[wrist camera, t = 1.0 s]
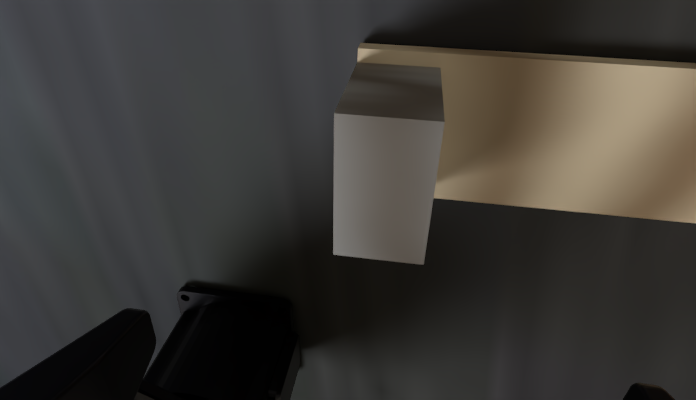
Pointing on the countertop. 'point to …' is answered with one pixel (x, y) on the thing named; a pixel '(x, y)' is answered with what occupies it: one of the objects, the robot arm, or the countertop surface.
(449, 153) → the beige rectangular bar
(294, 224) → the countertop surface
